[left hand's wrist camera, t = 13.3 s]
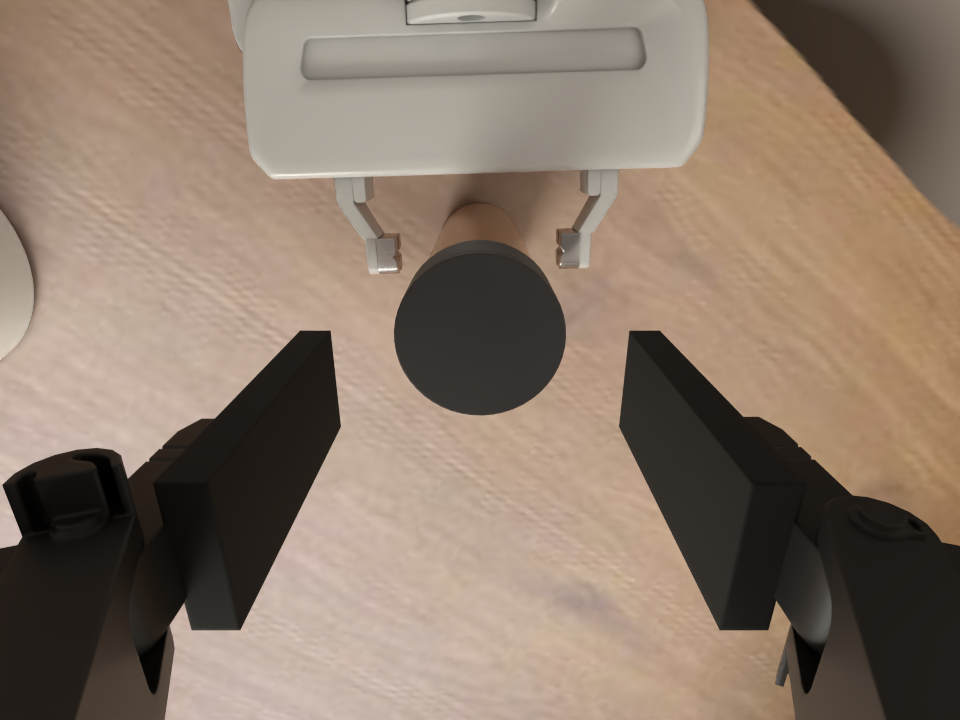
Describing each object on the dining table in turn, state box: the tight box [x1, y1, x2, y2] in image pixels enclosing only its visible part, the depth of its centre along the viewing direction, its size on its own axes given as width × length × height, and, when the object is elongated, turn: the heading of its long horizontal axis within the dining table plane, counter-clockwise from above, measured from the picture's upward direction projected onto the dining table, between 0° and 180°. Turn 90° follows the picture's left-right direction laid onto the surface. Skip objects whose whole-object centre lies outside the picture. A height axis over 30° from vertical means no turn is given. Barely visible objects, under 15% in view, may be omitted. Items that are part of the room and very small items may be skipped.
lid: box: [394, 240, 566, 415], centre depth 18 cm, size 5×5×2 cm
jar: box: [429, 203, 531, 258], centre depth 25 cm, size 5×5×17 cm
